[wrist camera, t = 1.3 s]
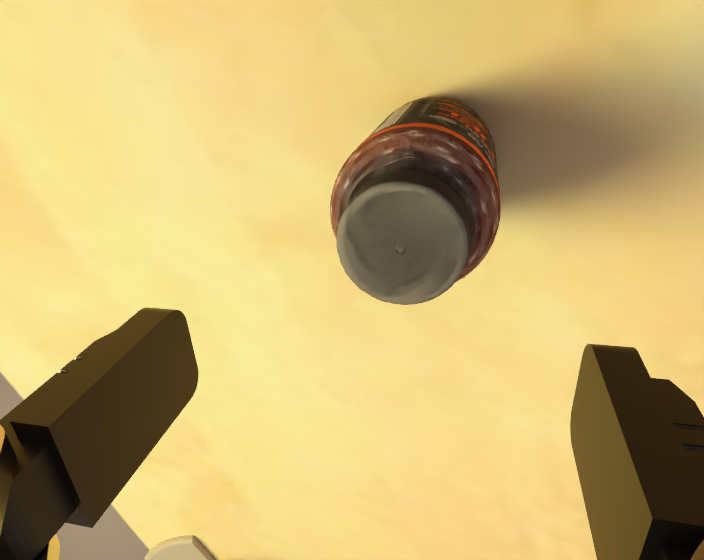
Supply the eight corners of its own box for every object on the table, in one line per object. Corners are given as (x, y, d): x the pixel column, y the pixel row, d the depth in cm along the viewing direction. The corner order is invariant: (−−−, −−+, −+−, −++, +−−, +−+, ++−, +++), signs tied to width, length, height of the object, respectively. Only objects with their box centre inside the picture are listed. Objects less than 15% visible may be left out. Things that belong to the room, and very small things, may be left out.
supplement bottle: (522, 148, 23) (555, 243, 13) (438, 236, 26) (415, 367, 16) (424, 65, 22) (383, 101, 13) (349, 165, 25) (270, 258, 16)
